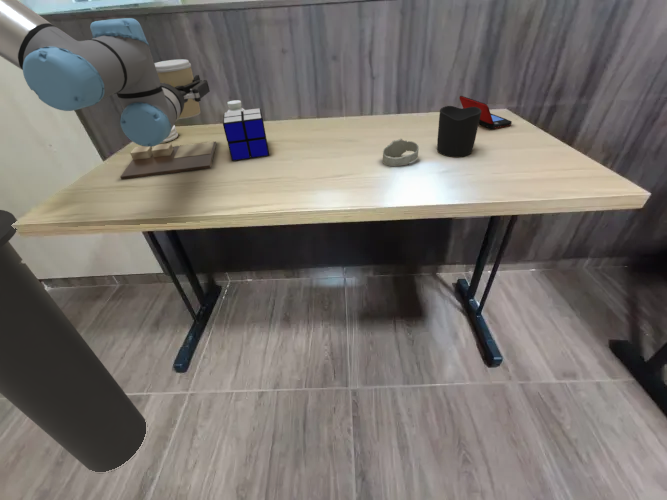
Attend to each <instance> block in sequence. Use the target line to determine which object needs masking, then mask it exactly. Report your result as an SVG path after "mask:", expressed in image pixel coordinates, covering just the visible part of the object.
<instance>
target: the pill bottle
mask: <svg viewBox="0 0 667 500" xmlns="http://www.w3.org/2000/svg"><path fill="white" fill-rule="evenodd" d="M242 106H243V105H242V101H241V100H239V99H235V100H230V101H227V107H228V109H227V111H226V112H233V111H243V110H245V108H243V107H242Z"/></svg>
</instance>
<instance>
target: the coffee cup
mask: <svg viewBox="0 0 667 500" xmlns="http://www.w3.org/2000/svg"><path fill="white" fill-rule="evenodd" d="M154 64H155V67H156V70H157V73H158V76H159V79H160V83H166V84H169V85H171V86H173V87H176V86H185V85H187V84H190V83H192V80H193V79H194V75H193V74H194V73H193V69H192V64H191V62H190V61H189V59H185V58H184V59H169V60H162V61H158V62H154ZM200 114H201V107H200V101H199V102H196V101H193V99H188V101H187V102H186V103H184V109H183V111H182V113H181V115H180V116H179V118H178V119H177V120H185V119H189V118H193V117H197V116H199V115H200Z"/></svg>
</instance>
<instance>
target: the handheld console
mask: <svg viewBox="0 0 667 500" xmlns="http://www.w3.org/2000/svg"><path fill="white" fill-rule="evenodd" d="M458 99H459V101H460V103H461V107H462V109H463V108H469V107H478V108H480V109H481V116H480V120H479V125H481V126H483V127H485V128H488V129H490V130H494V129H499V128H503V127H508V126H511V125H512V123H513V121H511V120H510V119H507V118H506V117H505V118H504V117H502V116H500V115H497V114H493V113H491V110H490V107H489V105H488V104H487V103H485V102H481V101H479V100H476V99H473V98H470V97H466V96H463V95H460V96H459V98H458Z"/></svg>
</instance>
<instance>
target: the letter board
mask: <svg viewBox="0 0 667 500" xmlns="http://www.w3.org/2000/svg"><path fill="white" fill-rule="evenodd" d="M216 148H217V141H206V142H196V143H189V144H181V145H180V144H179V145H176V146H175V145H174V146H173V144H172V142H165V143H160V144H158V145H156V146H152V147H146V146H141V145H140V146H134V147H133V149H132V150H131V151H130V153H129V154H130V156H131V159H132V160H131V161H130V162H129V164H128V165H127V167H126V168H125V169H124V171H123V172H122V174H121V175H120V179H121V180H130V179H137V178H145V177H152V176H161V175H169V174H176V173H184V172H192V171H199V170H207V169H211V167H212V164H213V162H214V161H213V160H214V156H215V151H216Z"/></svg>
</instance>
